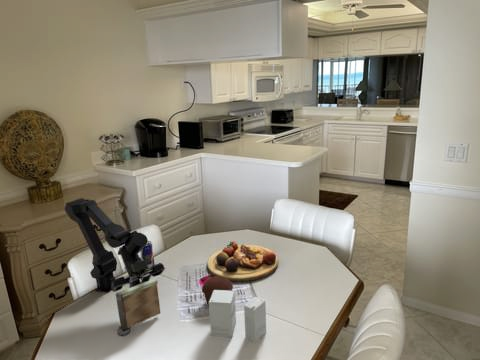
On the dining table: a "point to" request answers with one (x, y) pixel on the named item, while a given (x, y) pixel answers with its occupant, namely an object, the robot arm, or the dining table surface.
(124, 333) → the gate pivot base
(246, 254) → the wooden plate with food
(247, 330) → the skincare box
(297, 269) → the dining table surface
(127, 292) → the gate panel
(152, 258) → the energy drink
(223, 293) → the supplement box
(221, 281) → the muffin
